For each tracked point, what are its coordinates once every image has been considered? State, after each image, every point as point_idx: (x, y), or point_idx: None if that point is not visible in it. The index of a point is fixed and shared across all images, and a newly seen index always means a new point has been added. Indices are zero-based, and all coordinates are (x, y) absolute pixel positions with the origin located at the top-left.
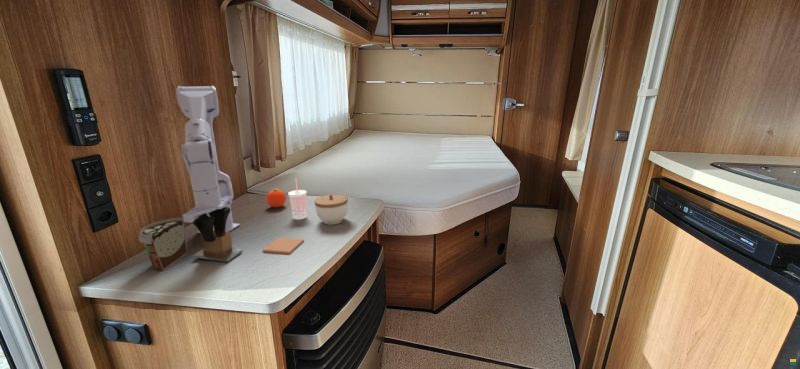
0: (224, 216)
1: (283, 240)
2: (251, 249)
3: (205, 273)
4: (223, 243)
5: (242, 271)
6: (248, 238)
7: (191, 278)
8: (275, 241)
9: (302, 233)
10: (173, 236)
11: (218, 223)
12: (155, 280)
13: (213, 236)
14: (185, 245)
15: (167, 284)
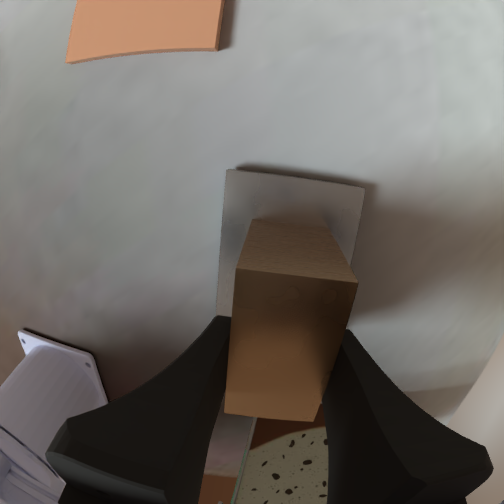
0: (181, 424)
1: (98, 13)
2: (190, 136)
3: (444, 239)
4: (331, 256)
5: (434, 70)
6: (81, 233)
7: (468, 271)
8: (109, 42)
9: (26, 10)
10: (311, 483)
11: (209, 408)
12: (445, 371)
13: (346, 346)
14: (256, 428)
15: (481, 323)
